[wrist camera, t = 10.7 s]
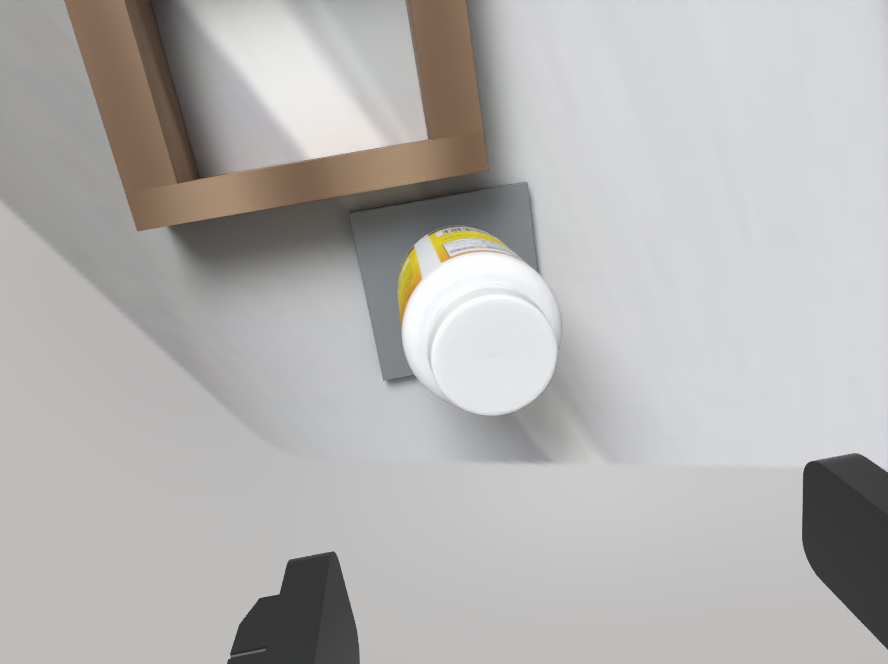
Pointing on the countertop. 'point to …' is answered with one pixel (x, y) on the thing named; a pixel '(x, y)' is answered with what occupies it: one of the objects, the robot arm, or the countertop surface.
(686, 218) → the countertop surface
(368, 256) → the slate pad
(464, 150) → the wooden frame
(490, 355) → the supplement bottle
